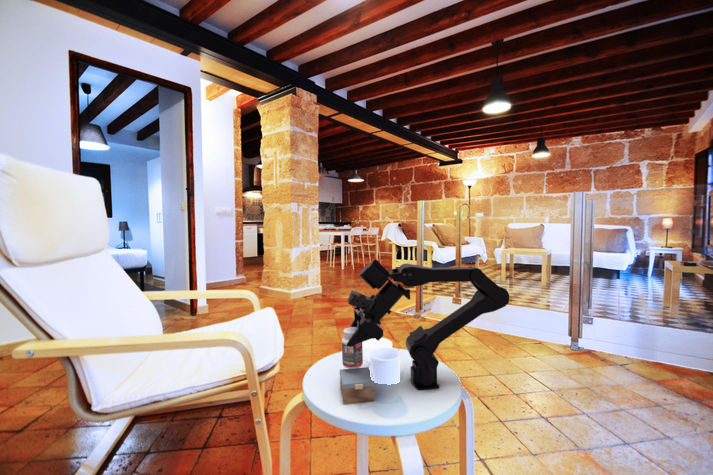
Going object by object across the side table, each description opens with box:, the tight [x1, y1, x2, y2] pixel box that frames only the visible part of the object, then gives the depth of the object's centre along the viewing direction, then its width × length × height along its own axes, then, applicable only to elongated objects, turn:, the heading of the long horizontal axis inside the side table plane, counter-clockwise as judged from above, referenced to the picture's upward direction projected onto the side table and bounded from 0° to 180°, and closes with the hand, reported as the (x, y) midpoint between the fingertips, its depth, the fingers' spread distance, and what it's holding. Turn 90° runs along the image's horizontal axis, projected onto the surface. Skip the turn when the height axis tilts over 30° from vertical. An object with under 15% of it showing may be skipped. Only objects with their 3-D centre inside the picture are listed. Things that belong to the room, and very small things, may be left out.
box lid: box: [339, 366, 375, 389], centre depth 81 cm, size 8×8×1 cm
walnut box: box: [339, 376, 375, 405], centre depth 81 cm, size 8×8×4 cm
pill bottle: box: [341, 326, 364, 369], centre depth 84 cm, size 6×6×10 cm
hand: (347, 341), depth 84 cm, fingers closed on pill bottle, 6 cm apart
